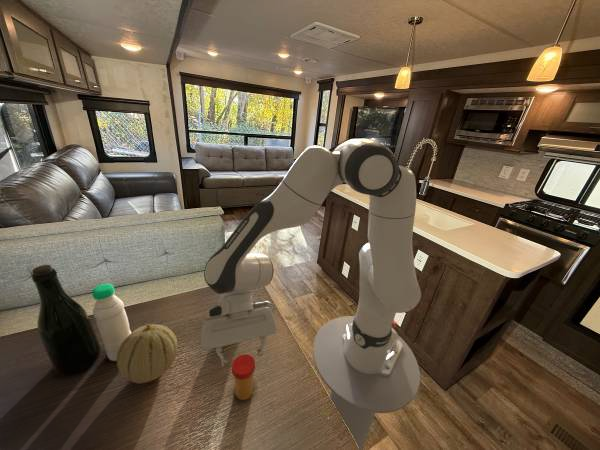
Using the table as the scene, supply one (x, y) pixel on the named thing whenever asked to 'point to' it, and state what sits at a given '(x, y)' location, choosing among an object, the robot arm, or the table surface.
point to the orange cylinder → (244, 388)
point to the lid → (243, 366)
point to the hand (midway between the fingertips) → (243, 360)
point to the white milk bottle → (110, 319)
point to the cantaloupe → (147, 353)
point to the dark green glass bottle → (63, 325)
